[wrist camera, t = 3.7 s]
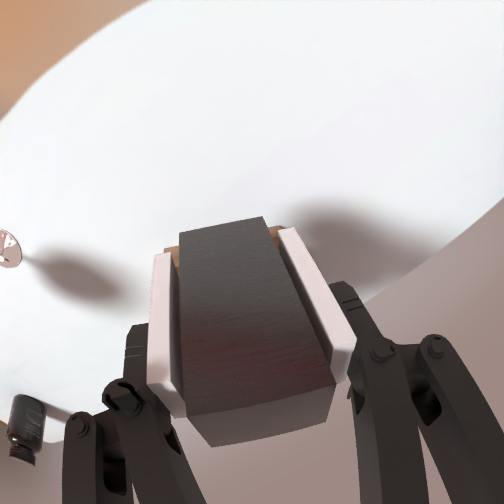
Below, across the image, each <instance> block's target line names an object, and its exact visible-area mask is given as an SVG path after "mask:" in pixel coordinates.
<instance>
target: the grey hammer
mask: <svg viewBox="0 0 504 504" xmlns="http://www.w3.org/2000/svg"><path fill="white" fill-rule="evenodd" d="M179 296H180V329H181V350H182V367H183V382H184V395H185V406H186V417H187V418H188V419H189V421H190V422H191V423H192V424H193V426H194V427H195V428H196V429H197V431H198V432H199V433H200V434H201V435H202V437H203V438H204V439H205V440H206V441H207V443H208V444H209V445H210V446H211V447H218V446H224V445H230V444H237V443H242V442H247V441H252V440H257V439H262V438H267V437H271V436H275V435H280V434H284V433H288V432H292V431H295V430H299V429H303V428H307V427H310V426H313V425H317V424H320V423H323V422H326V419H327V416H328V412H329V409H330V405H331V402H332V398H333V395H334V391H335V388H336V384H337V383H336V381H335V378H334V376H333V374H332V371H331V369H330V367H329V364H328V362H327V360H326V357H325V355H324V353H323V350H322V348H321V346H320V343H319V341H318V339H317V337H316V334H315V332H314V330H313V327H312V325H311V323H310V320H309V318H308V316H307V314H306V311H305V309H304V307H303V305H302V302H301V300H300V298H299V296H298V293H297V291H296V289H295V287H294V284H293V282H292V280H291V278H290V276H289V273H288V271H287V269H286V267H285V265H284V262H283V260H282V258H281V256H280V254H279V251H278V249H277V247H276V245H275V243H274V240H273V238H272V236H271V234H270V232H269V230H268V227H267V225H266V223H265V221H264V219H263V217H262V216H261V217H256V218H251V219H246V220H240V221H235V222H230V223H225V224H220V225H215V226H210V227H205V228H200V229H195V230H191V231H186V232H181V233H179Z"/></svg>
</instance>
